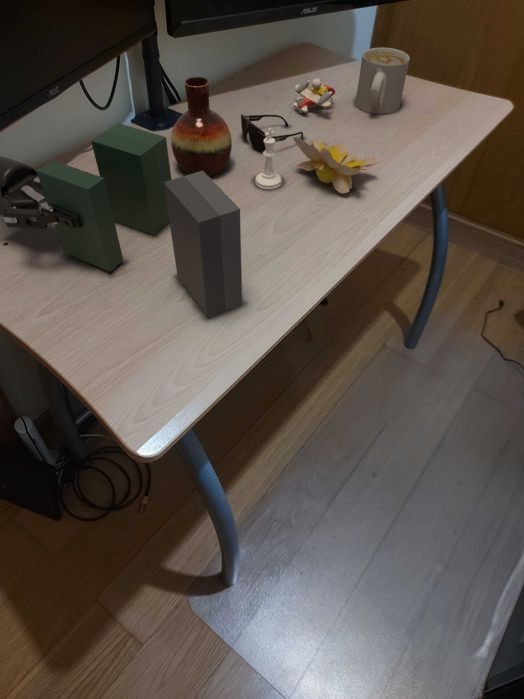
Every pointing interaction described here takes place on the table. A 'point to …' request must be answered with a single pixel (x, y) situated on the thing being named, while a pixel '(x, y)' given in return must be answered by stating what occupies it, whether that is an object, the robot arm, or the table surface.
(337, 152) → the decorative flower
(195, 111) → the vase
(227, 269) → the grey faceted block
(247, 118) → the sunglasses
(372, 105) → the coffee mug
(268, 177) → the chess piece
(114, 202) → the green rectangular block
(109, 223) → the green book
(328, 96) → the toy airplane
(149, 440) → the table surface
